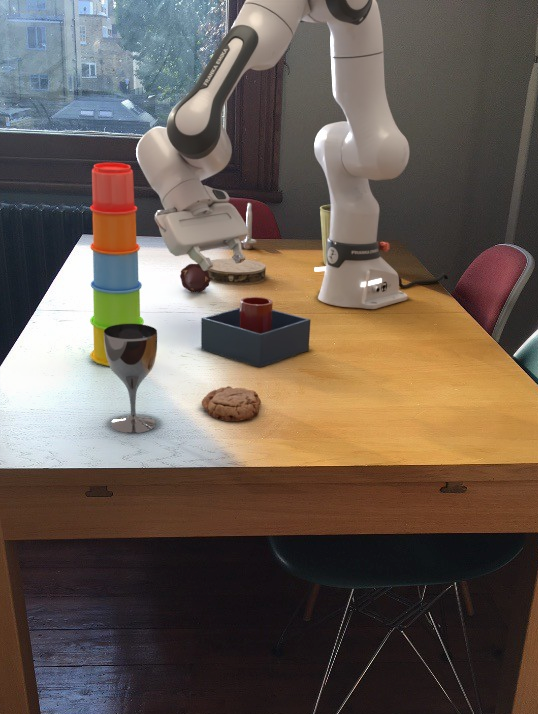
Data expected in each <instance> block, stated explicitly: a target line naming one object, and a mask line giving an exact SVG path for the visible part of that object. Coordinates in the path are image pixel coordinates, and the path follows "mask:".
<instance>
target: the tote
mask: <svg viewBox="0 0 538 714" xmlns="http://www.w3.org/2000/svg"><path fill="white" fill-rule="evenodd" d="M200 319H201V321H200V323H201V325H200V326H201V327H200V329H201V330H200V333H201V334H200V336H201V337H200V350H203V351H205V352H209V353H211V354H215V355H217V356H222V357H224V358H228V359H231V360H235V361H237V362H240V363H244V364H246V365H251V366H254V367H256V368H262V367H265V366H268V365H271V364H275V363H277V362H279V361H283V360H285V359H288V358H291V357H294V356H297V355H300V354H302V353H305V352H308V351H309V350H310V334H311V322H312V321H311V319H310V318H307V317H303V316H299V315H294V314H291V313H287V312H283V311H279V310H275V309H272V330H271V331H268V332H265V333H262V334H260V333H256V332H253V331H249V330H246V329H242V328H239V327H240V307H237V308H233V309H230V310H226V311H222V312H218V313H214V314H210V315H207V316H203V317H201V318H200Z"/></svg>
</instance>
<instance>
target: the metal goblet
mask: <svg viewBox="0 0 538 714" xmlns="http://www.w3.org/2000/svg"><path fill="white" fill-rule="evenodd" d="M104 344H105V352H106V357H107V360H108V364H109V366H108V367H109V368H110V370H111V371H112V373H113V374H114V375H115V376H116V377H117V378H118V379H119V380H120V381H121V382H122V383H123V385H125V387H126V389H127V393H128V398H129V406H130V415H123V416H119V417H117V418H115V419H113V420H112V421H111V422H110V427H111V428H112V429H113V430H115V431H117V432H121V433H125V434H138V433H139V434H140V433H145V432H148V431H151V430H153V429H155V427H156V426H157V421H156V420H154V418H151V417H149V416H146V415H138V414H137V412H136V406H137V405H136V404H137V403H136V402H137V392H138V389H139V386H140V385H141V383H142V382H143V381H144V380H145V379H146V378H147V376H148V375H149V374H150V373H151V371H152V370H153V368H154V366H155V362H156V359H157V358H156V357H157V352H158V329H156V328H155V327H153V326H151V325H147V324H143V325H142V324H119V325H114V326H110V327H108V328H106V329H105V330H104Z"/></svg>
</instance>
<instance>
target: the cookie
mask: <svg viewBox="0 0 538 714" xmlns="http://www.w3.org/2000/svg"><path fill="white" fill-rule="evenodd" d="M261 405H262V400H261V398H260V397H259V394H258V393H257V391H255V390H252V389H247V388H244V387H234V388H233V387H232V386H229V385H227V386H226V387H220V388H217V389H212V390H211V391H210V392H208V393H207V394H206V395H205V396H204V397H203V398H202V400H201V406H202V408H203V410H204V411H207V412H208V415H210V416H211V417H212V418H214V419H215V420H222V421H226V422H229V421H233V422H238V421H241V420H247V419H251V418H253V416H255V415H256V414H258V412H259V407H260V406H261Z"/></svg>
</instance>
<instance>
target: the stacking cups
mask: <svg viewBox="0 0 538 714" xmlns="http://www.w3.org/2000/svg"><path fill="white" fill-rule="evenodd" d="M91 187H92V188H91V189H92V191H91V192H92V205H90V207H89V209H90V211H91V212H92V233H93V234H92V239H93V240H92V241H93V243H91V244H90V246H89V248H90V250H91V251H92V266H93V268H92V269H93V270H92V271H93V280H91V282H90V286H91V289H92V290H93V293H92V295H93V296H92V297H93V315H92V316H91V318H90V319H89V320H90V324H91V325H92V328H93V333H92V334H93V350H92V351H91V352H90V356H89V358H90V359H91V361H93V362H95V363H96V364H98V365H101V366H107V367H110V366H109V364H108V360H107V357H106V352H105V344H104V330H105V329H106V328H108V327H110V326H114V325H119V324H142V325H144V321H145V320H144V318H143V317H141V299H140V298H141V297H140V290H141V289H142V286H143V284H142V282H140V280H139V251H140V248H141V246H140V245H139V244H138V242H137V241H138V240H137V222H136V221H137V213H136V212H137V211H138V207H137V205H135V190H134V187H135V185H134V171H133V169H132V167H131V165H130V164H126V163H122V162H101V163H95V164H94V165H93V168H92V169H91Z"/></svg>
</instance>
